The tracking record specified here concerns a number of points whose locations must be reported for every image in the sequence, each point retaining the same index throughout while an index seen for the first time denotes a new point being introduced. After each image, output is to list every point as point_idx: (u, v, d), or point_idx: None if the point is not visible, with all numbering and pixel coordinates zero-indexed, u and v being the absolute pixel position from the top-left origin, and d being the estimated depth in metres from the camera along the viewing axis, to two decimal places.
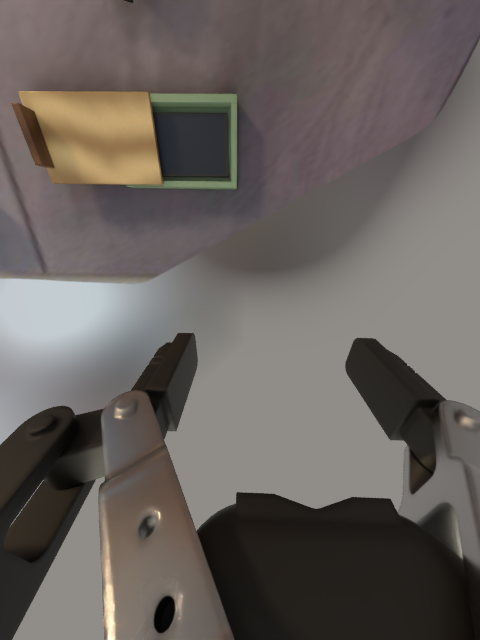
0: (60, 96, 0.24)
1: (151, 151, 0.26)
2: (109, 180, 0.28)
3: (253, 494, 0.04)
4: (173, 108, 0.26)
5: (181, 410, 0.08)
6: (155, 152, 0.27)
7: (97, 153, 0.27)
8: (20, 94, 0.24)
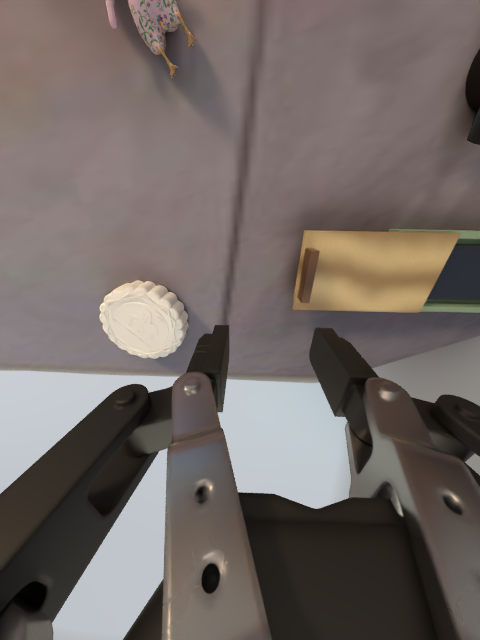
0: (353, 236, 0.21)
1: (427, 284, 0.23)
2: (361, 308, 0.25)
3: (253, 494, 0.04)
4: None
5: (224, 394, 0.08)
6: (431, 285, 0.23)
7: (363, 285, 0.23)
8: (306, 233, 0.21)
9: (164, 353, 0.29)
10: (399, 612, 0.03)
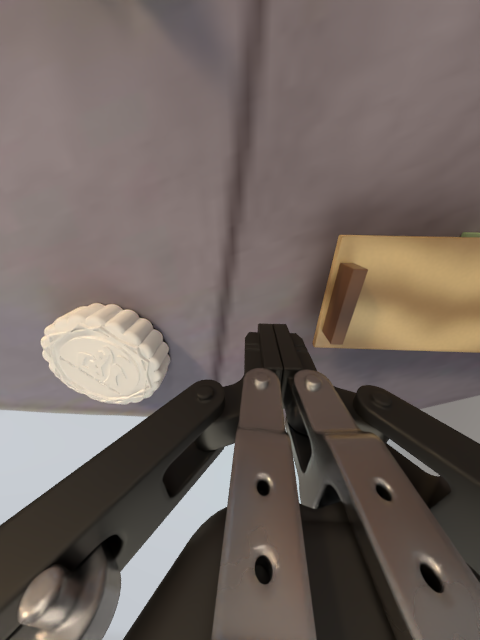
0: (418, 244, 0.13)
1: None
2: (413, 346, 0.17)
3: None
4: None
5: None
6: None
7: (421, 316, 0.16)
8: (344, 240, 0.13)
9: (137, 398, 0.22)
10: None
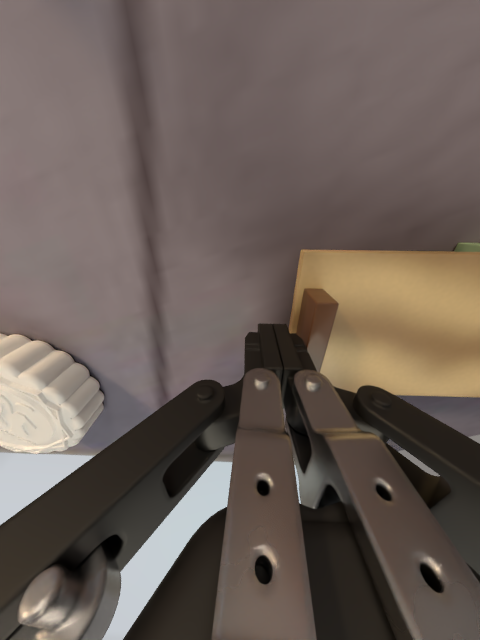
0: (413, 262, 0.09)
1: None
2: (410, 391, 0.13)
3: None
4: None
5: None
6: None
7: (420, 355, 0.12)
8: (307, 257, 0.09)
9: (59, 447, 0.17)
10: None
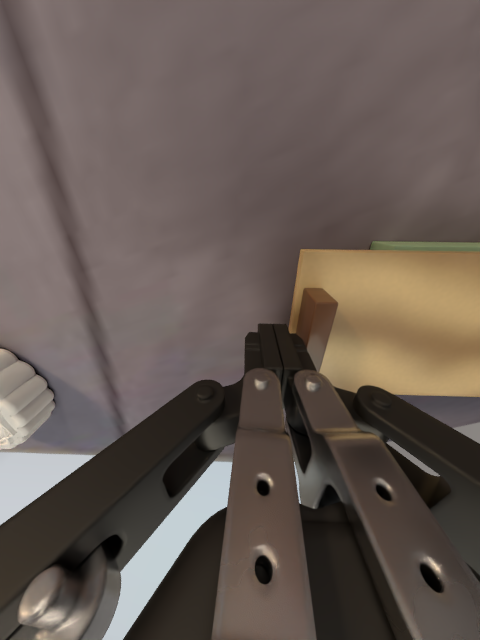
0: (412, 262, 0.09)
1: None
2: (410, 391, 0.13)
3: None
4: None
5: None
6: None
7: (419, 355, 0.12)
8: (306, 257, 0.09)
9: (7, 445, 0.18)
10: None
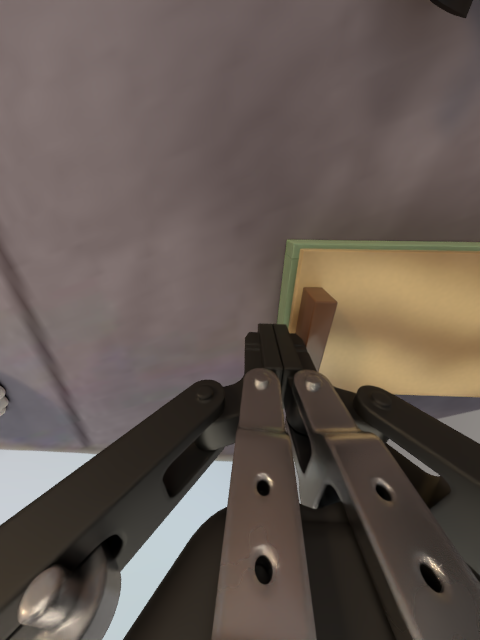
0: (412, 261, 0.09)
1: None
2: (410, 390, 0.13)
3: None
4: None
5: None
6: None
7: (420, 355, 0.12)
8: (306, 256, 0.09)
9: None
10: None
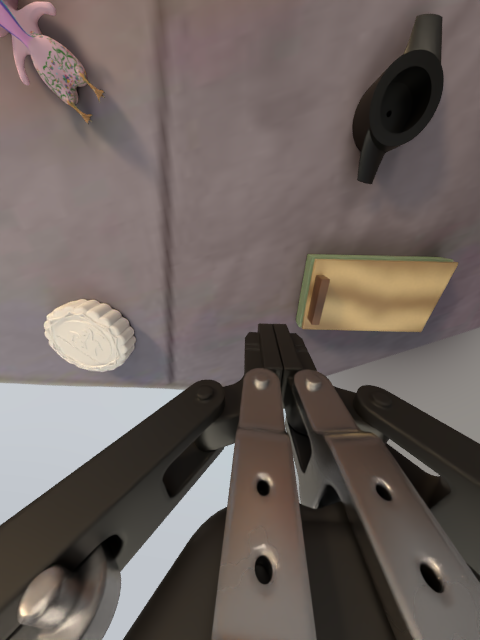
0: (360, 264, 0.23)
1: (428, 307, 0.25)
2: (366, 328, 0.27)
3: None
4: None
5: None
6: (432, 308, 0.25)
7: (368, 307, 0.25)
8: (317, 262, 0.22)
9: (111, 367, 0.31)
10: None
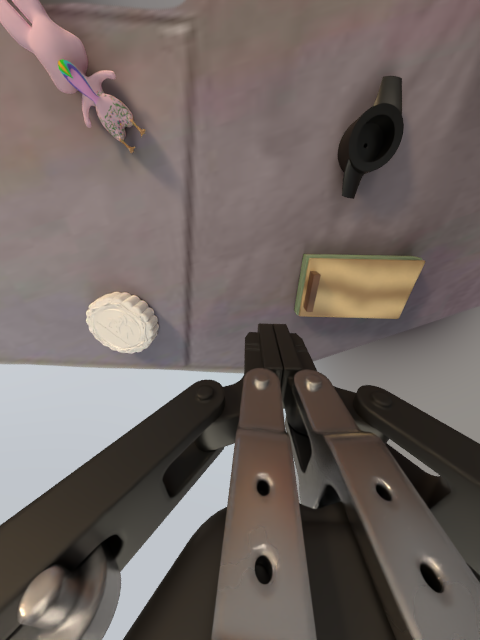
0: (345, 262, 0.28)
1: (403, 297, 0.30)
2: (352, 315, 0.32)
3: None
4: None
5: None
6: (406, 298, 0.30)
7: (353, 298, 0.30)
8: (311, 260, 0.28)
9: (139, 349, 0.36)
10: None
